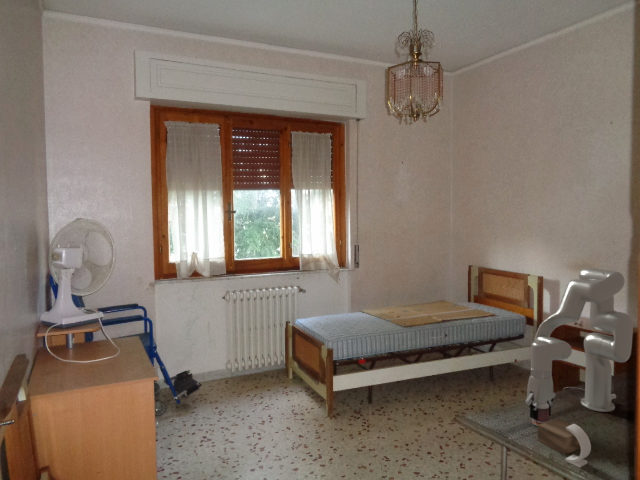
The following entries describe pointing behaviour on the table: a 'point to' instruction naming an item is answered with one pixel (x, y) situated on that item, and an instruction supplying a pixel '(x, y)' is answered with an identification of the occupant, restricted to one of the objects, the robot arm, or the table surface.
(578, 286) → the robot arm
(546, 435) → the walnut block
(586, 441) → the headphone stand
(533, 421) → the pill bottle
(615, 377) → the table surface
